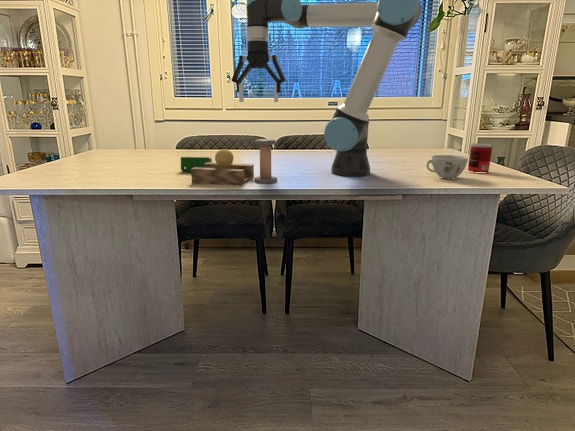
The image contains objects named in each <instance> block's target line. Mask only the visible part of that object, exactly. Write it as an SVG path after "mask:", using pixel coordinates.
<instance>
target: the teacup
mask: <svg viewBox="0 0 575 431" xmlns="http://www.w3.org/2000/svg"><path fill="white" fill-rule="evenodd" d="M468 162H469V157H467V156H460V155H452V154H451V155H450V154H439V155H432V156H431V159H429V160H428V161H427V162H426V169H427V170H428V171H429V172H431V173H435V174H437V176H438V178H440V177H442V178H441V179H443V178H456V179H457V178H458V177H459V176H460V175H461V174H462V173H463V171H464V170H465V168H467V163H468ZM430 164H431V165H432V168H433V169H432V168H430V167H429V166H430Z"/></svg>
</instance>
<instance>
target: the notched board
mask: <svg viewBox="0 0 575 431" xmlns="http://www.w3.org/2000/svg"><path fill="white" fill-rule="evenodd" d="M254 165H255V164H253V163H252V164H251V163H232V164H231V166H230V167H229V169H223V168H220V167H219V166H218V165H217V163H216V162H207V163H205V164H204V168H202V167H194V168H192V169H191V172H190V173H191V183H192V184H201V185H204V184H205V185H221V186H239V187H241V186H243V185H245V184H247V183H248V182H250V181H251V180H254V178H255V174H254V170H255V169H254V168H255V166H254Z"/></svg>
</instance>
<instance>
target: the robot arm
mask: <svg viewBox="0 0 575 431" xmlns="http://www.w3.org/2000/svg"><path fill="white" fill-rule="evenodd" d="M245 8H246V20H247V22H246V23H247V26H246V30H247V35H246V36H247V40H248V41H247V54H246V55H247V56H245V55H242V54H241V55H239V56H238V62H237V65H236V68H235V71H234V73H233V75H232V78H231V82H233V83H236V84H235V85H236V93H238V96H239V97H238V98H239V100H238V101H239V103H244V101H245V100H244V98H245V97H244V84H243V81H244V80H245V78H246V77H247V75H249V73H250V72H251V71H252V69H255V70H256V69H265V70H266V71H267V73H268V74H269V76H271V77H272V79H273V80H274V82H275V83H274V84H273V89H274V91H273V92H274V93H273V95H274V98H273V99H274V100H273V101H274V103H279V94H280V93H282V92H281V91H282V89H281V88H282V83H285V82H286V80H287V79H286V78H285V75H284V73H283V71H282V68H281V67H280V64H279V62H278V56H277V55H276V54H272V55H269V42H268V40H269V23H280V22H281V23H284V24H287V25H289V26H290V27H292V28H295V29H304V28H310V27H311V28H315V27H317V28H325V27H326V28H327V27H329V28H331V27H332V28H337V27H338V28H339V27H340V28H341V27H342V28H345V27H346V28H350V27H351V28H352V27H353V28H354V27H355V28H358V27H359V28H363V27H364V28H365V27H367V28H368V27H369V28H370V27H371V29H372V30H373V34H372V36H371V38H370V41H369V43H368V45H367V48H366V50H365V52H364V55H363V57H362V60H361V62H360V64H359V66H358V68H357V71H356V74H355V76H354V78H353V80H352V82H351V85H350V88H349V90H348V92H347V95H346V96H345V100H344V102H343V103H342V104H341V105H338V106H337V107H336V109H335V111H334V114H333V117H332V118H331V119H330V120H329V121H328V122H327V124H326V125H325V128H324V131H323V134H324V140H325V142H326V144H327V146H328V147H329V148H331V149H332V150H334V151H336V154H335V156H334V158H333V162H332V165H331V168H330V169H331V171H330V172H331V173H332V175H333V174H334V175H337V176H343V177H363V176H368V175H370V174H371V165H370V162H369V158H368V153H367V152H368V151H367V150H368V138H369V137H368V136H369V124H370V120H369V114H368V111H369V109H370V106H371V104H372V102H373V100H374V98H375V95H376V93H377V91H378V88H379V87H380V84H381V82H382V80H383V78H384V76H385V73H386V71H387V69H388V67H389V64H390V63H391V60H392V57H393V55H394V54H395V51H396V49H397V46H398V44H399V43H400V42H402V41H404V40H406V38H407V36H408V34H409V32H410V30H411V29H412V28H413V27H414V26H415V25H416V24H418V21H419V20H420V17H421V13H422V3H421V1H420V0H378V1H377V2H347V3H346V2H345V3H311V4H310V3H309V4H304V3H303V4H302V1H301V0H246V7H245ZM269 61H270V62H272V64H273V66H274V68H275V70H276V72H277V74H276V73H275V72H274V71H273V69H272V68H271V67H270V65H269V64H268V63H269ZM246 62H248V64H246V67H245V68H244V70H243V71H242V69H243V66H244V64H245V63H246ZM241 71H242V73H241Z"/></svg>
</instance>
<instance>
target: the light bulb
mask: <svg viewBox="0 0 575 431" xmlns="http://www.w3.org/2000/svg"><path fill="white" fill-rule="evenodd" d="M214 160H215V163H217V165H218V166H219V167H220V168H223V169H229V167H230V166H231V164H232V163H233V161H234V154H233V153H232V151H231V150H229V149H220V150H218V151H217V152H216V153H215V154H214ZM233 164H234V163H233Z"/></svg>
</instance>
